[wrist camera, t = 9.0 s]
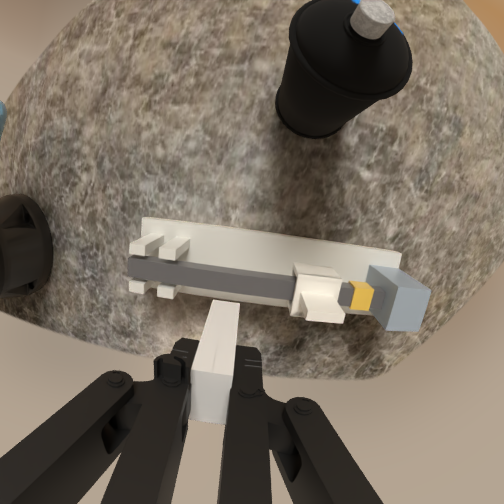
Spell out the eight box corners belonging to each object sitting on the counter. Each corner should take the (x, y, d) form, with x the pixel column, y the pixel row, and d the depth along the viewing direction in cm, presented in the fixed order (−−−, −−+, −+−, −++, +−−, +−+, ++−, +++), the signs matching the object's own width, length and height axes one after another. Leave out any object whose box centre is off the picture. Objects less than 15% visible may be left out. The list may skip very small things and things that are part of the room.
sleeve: (286, 299, 30) (295, 338, 22) (293, 262, 29) (305, 289, 21) (323, 303, 30) (343, 341, 22) (331, 267, 29) (356, 295, 21)
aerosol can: (334, 150, 30) (435, 109, 10) (264, 123, 29) (273, 33, 10) (355, 89, 28) (449, 6, 9) (289, 62, 28) (319, -57, 8)
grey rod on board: (143, 282, 34) (110, 311, 25) (146, 216, 32) (109, 228, 23) (382, 312, 34) (412, 347, 25) (397, 251, 32) (436, 272, 23)
